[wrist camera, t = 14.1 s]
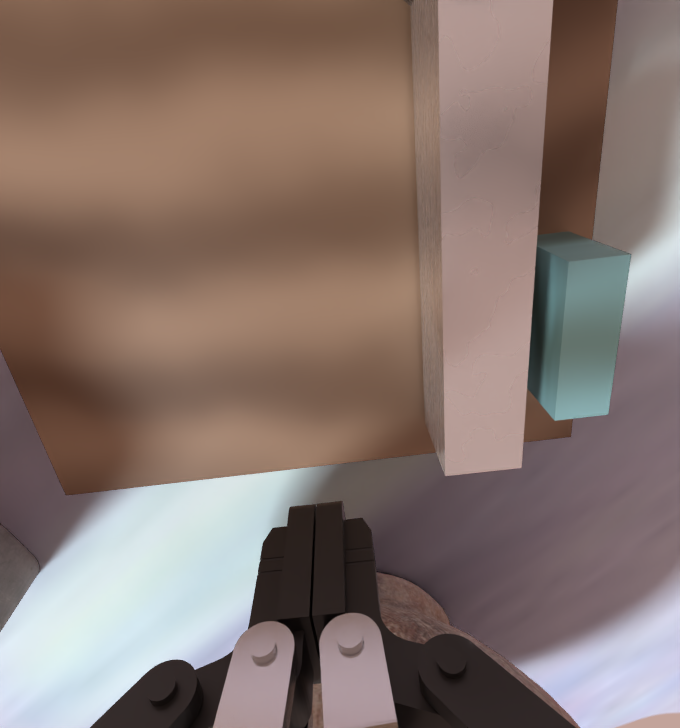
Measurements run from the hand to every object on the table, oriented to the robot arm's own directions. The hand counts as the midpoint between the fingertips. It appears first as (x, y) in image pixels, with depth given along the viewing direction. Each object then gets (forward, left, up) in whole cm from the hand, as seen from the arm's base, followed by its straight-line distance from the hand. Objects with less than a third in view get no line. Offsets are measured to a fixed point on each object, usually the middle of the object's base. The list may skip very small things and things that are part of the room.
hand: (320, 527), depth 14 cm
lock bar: (-4, -9, -9) cm, 13 cm away
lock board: (+3, -7, -12) cm, 14 cm away
